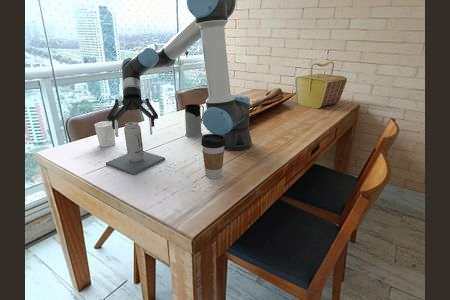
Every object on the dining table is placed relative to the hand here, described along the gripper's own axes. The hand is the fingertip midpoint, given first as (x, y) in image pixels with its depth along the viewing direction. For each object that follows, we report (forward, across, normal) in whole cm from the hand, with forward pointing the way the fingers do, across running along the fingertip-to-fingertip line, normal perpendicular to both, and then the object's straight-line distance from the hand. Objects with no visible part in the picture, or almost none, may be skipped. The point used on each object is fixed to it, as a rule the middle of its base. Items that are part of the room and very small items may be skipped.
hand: (134, 134), depth 111 cm
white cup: (-4, +14, -18) cm, 23 cm away
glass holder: (-9, -29, -22) cm, 37 cm away
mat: (+12, 0, -1) cm, 12 cm away
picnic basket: (-40, -126, -54) cm, 143 cm away
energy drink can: (+11, 0, -1) cm, 11 cm away
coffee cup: (+24, -28, +11) cm, 39 cm away
